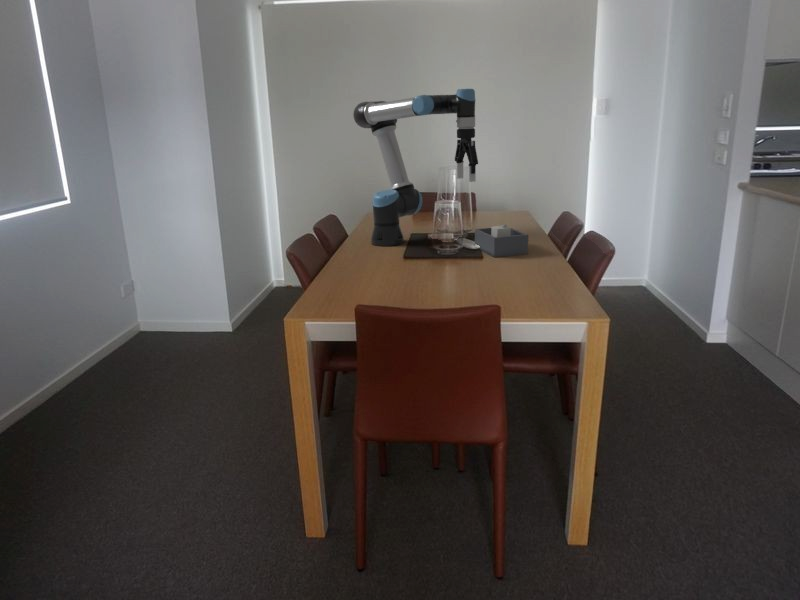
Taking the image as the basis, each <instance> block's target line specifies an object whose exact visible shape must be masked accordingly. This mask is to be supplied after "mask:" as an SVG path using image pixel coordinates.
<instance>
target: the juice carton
mask: <svg viewBox="0 0 800 600" xmlns="http://www.w3.org/2000/svg"><path fill="white" fill-rule="evenodd" d="M490 228H491V235H492V236H494V237H504V236H511V228H512V227H510V226H507V224H502V225H496V226H495V225H494V226H491V227H490Z"/></svg>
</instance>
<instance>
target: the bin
mask: <svg viewBox="0 0 800 600" xmlns="http://www.w3.org/2000/svg"><path fill="white" fill-rule="evenodd" d="M510 228H511V236H504V237H494V236H492V235H491V227H485V228H475V229H474V245H475V244H477V245H479V246H480V250H479V251H481V252H483V253H485V254H487V255H489V256H491V257H493V258H501V257H510V256H520V255H521V256H522V255H528V253H529V234H528V233H525V232H524V231H523V232H522V231H520V230H518V229H515V228H512V227H510Z"/></svg>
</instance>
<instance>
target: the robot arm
mask: <svg viewBox="0 0 800 600" xmlns="http://www.w3.org/2000/svg"><path fill="white" fill-rule="evenodd" d="M446 114H448V115H449V114H456V120H455V123H456V128H458V129H456V138H457V141H456V142H457V143H456V150H455V154H454V161H455V162H456V179H464V158H465V156H467V160H468V162H469V163H468V183H474V182H476V166H477V165H479V159H478V153H477V148H476V140H472V139H474V138H476V129H475V127H476V91H475V89H473V88H458V89H457V90H456V93H455V94H436V95H435V94H432V95H431V94H429V95H427V94H421V95H417V96H415V97H408V98H403V99H402V98H401V99H395V100H392V101H385V100H379V101H363V102H360V103H358V104H357V105H356V106H355V108H354V109H353V115H352V117H353V119H354V122H355V124H357V126H359V127H360V128H363V129H370V131H371V133H372V135H373V136H375V137H376V139H377V141H378V146H379V149H380V152H381V156H382V159H383V163H384V165H385V169H386V173H387V176H388V179H389V183H390V188H389V189H386V190H380V191H377V192H375V193H374V194H373V196H372V212H373V228H372V229H373V230H372V234H371V237H370V244H371V245H373V246H379V247H391V246H393V247H394V246H398V245H401V244H404V242H405V238H404V234H403V231H402V229H401V226H400V218H403V217H408V216H412V215H415V214H417V213H418V212H419V211H420V210H421V209H422V206H423V195H422V193H421V192H420V191H419V190H418V189H415V186H414V183H413V182H411V181H410V180H409V177H408V174H407V170H406V167H405V163H404V160H403V156H402V152H401V149H400V146H399V143H398V140H397V136H396V133H395V132H396V129H397V122H398V119H399V120H400V119H406V118H413V117H420V116H421V117H422V116H427V115H446ZM465 154H466V155H465Z"/></svg>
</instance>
